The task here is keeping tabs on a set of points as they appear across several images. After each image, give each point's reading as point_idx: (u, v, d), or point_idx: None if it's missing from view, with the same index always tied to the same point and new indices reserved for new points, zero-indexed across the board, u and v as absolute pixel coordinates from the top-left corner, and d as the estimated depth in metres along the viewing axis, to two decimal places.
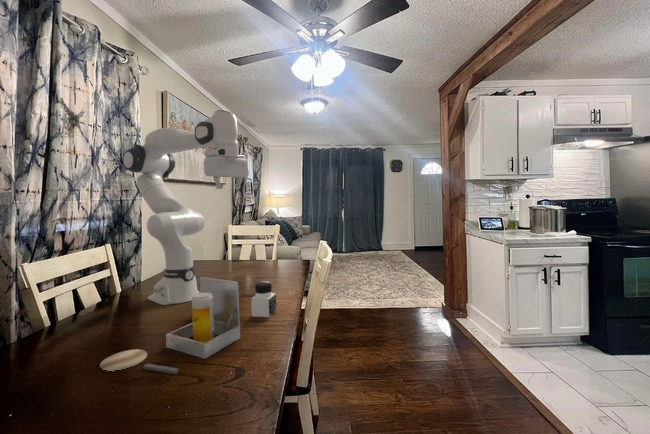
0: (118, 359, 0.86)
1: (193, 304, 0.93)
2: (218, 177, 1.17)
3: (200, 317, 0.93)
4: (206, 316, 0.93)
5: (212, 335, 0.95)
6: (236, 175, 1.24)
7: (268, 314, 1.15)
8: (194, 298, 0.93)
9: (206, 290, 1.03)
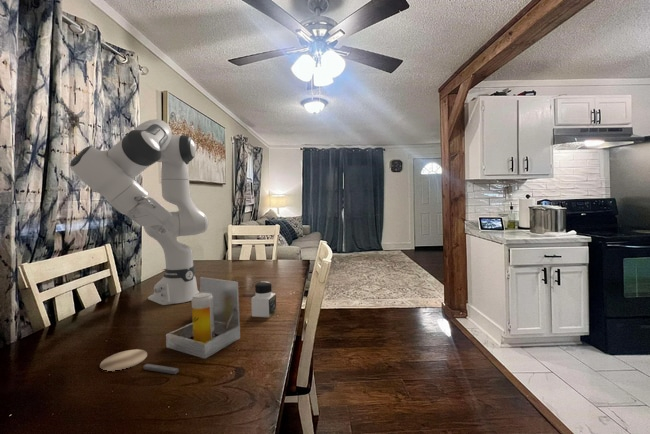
0: (118, 359, 0.86)
1: (193, 304, 0.93)
2: (149, 226, 0.95)
3: (200, 317, 0.93)
4: (206, 316, 0.93)
5: (212, 335, 0.95)
6: (154, 224, 0.88)
7: (268, 314, 1.15)
8: (194, 298, 0.93)
9: (206, 290, 1.03)
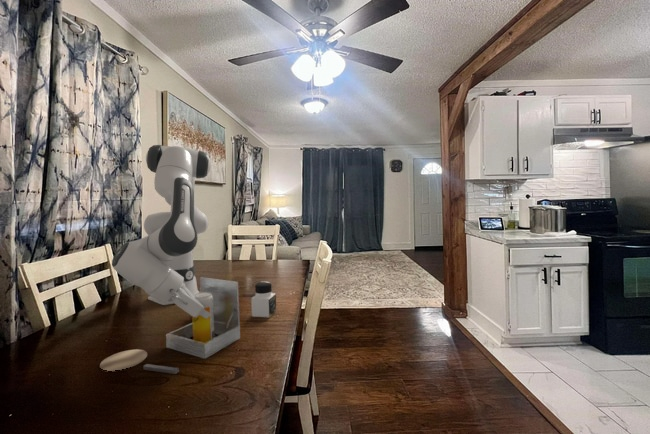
0: (118, 359, 0.86)
1: None
2: None
3: (200, 317, 0.92)
4: None
5: (212, 335, 0.95)
6: None
7: (268, 314, 1.15)
8: None
9: (206, 290, 1.03)
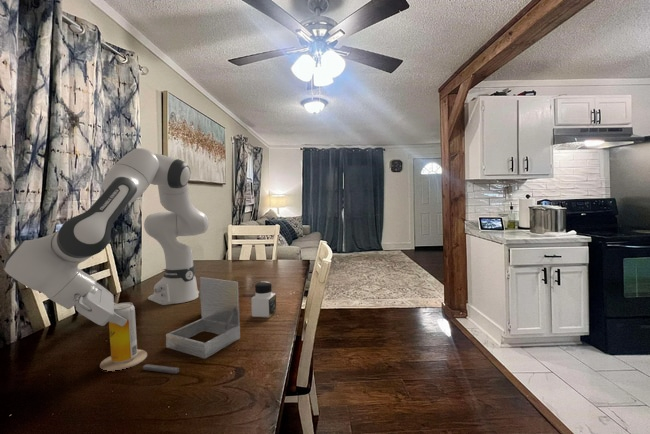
0: None
1: None
2: None
3: (117, 331, 0.83)
4: (124, 330, 0.84)
5: (133, 350, 0.86)
6: None
7: (268, 314, 1.15)
8: None
9: (206, 290, 1.03)
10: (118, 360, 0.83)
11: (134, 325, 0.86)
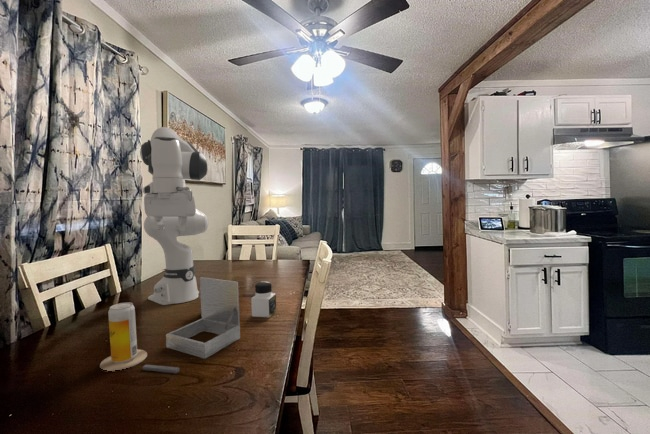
0: None
1: (109, 316, 0.83)
2: (155, 217, 1.03)
3: (117, 331, 0.83)
4: (124, 330, 0.84)
5: (133, 350, 0.86)
6: (170, 214, 0.98)
7: (268, 314, 1.15)
8: (110, 310, 0.83)
9: (206, 290, 1.03)
10: (118, 360, 0.83)
11: (134, 325, 0.86)
